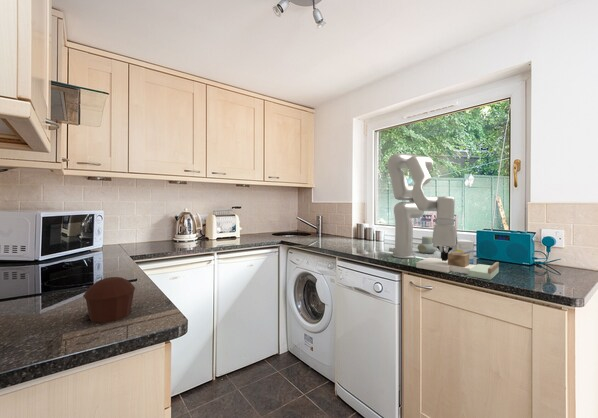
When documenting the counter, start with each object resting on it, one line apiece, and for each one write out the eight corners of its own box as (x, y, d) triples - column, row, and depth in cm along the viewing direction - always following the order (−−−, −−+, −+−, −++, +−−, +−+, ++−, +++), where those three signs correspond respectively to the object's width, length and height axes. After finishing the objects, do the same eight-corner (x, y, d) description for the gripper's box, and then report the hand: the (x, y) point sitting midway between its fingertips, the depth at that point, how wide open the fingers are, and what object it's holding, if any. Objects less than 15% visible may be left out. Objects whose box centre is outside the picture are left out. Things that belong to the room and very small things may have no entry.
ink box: (473, 264, 143) (474, 241, 143) (455, 263, 145) (456, 241, 145) (467, 260, 152) (467, 239, 151) (450, 260, 153) (450, 238, 153)
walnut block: (447, 264, 130) (448, 253, 130) (452, 262, 135) (452, 252, 135) (464, 267, 125) (464, 256, 125) (469, 264, 130) (469, 254, 130)
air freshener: (439, 254, 171) (439, 237, 171) (428, 254, 168) (429, 238, 168) (425, 251, 182) (425, 235, 181) (415, 251, 179) (415, 236, 178)
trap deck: (416, 267, 135) (416, 258, 134) (429, 261, 148) (429, 253, 147) (490, 279, 114) (490, 268, 114) (498, 272, 127) (498, 262, 127)
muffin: (108, 306, 81) (108, 272, 81) (144, 308, 80) (144, 273, 80) (71, 324, 69) (70, 284, 69) (113, 327, 68) (112, 286, 68)
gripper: (426, 221, 136) (425, 259, 137) (460, 223, 126) (459, 264, 126) (431, 221, 142) (431, 257, 142) (465, 222, 131) (464, 261, 131)
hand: (444, 260), depth 134 cm, fingers closed
